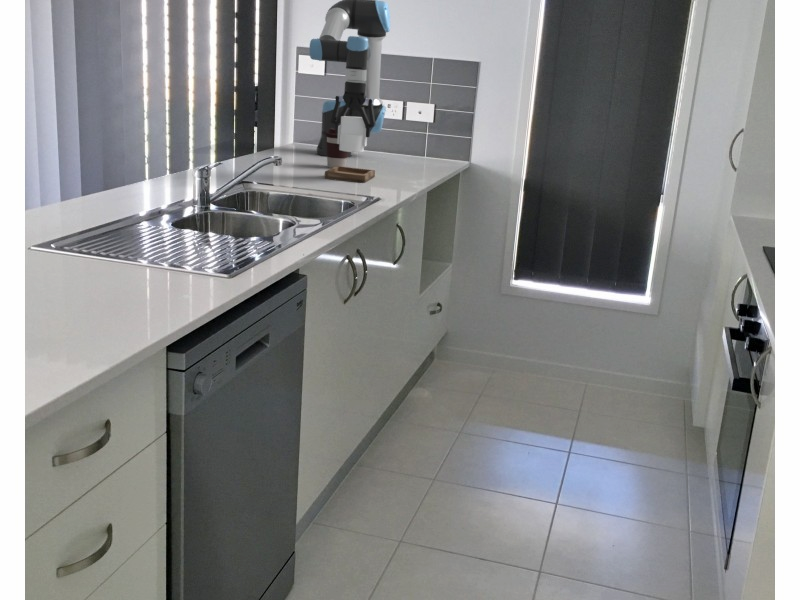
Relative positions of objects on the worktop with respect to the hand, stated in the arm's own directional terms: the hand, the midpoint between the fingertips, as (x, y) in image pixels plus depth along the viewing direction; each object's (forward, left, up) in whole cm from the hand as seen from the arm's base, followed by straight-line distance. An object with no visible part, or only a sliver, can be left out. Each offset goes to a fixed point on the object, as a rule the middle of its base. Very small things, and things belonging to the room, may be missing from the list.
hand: (351, 144), depth 311 cm
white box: (0, 0, -2) cm, 2 cm away
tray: (0, 0, -12) cm, 12 cm away
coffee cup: (-20, -11, -12) cm, 26 cm away
